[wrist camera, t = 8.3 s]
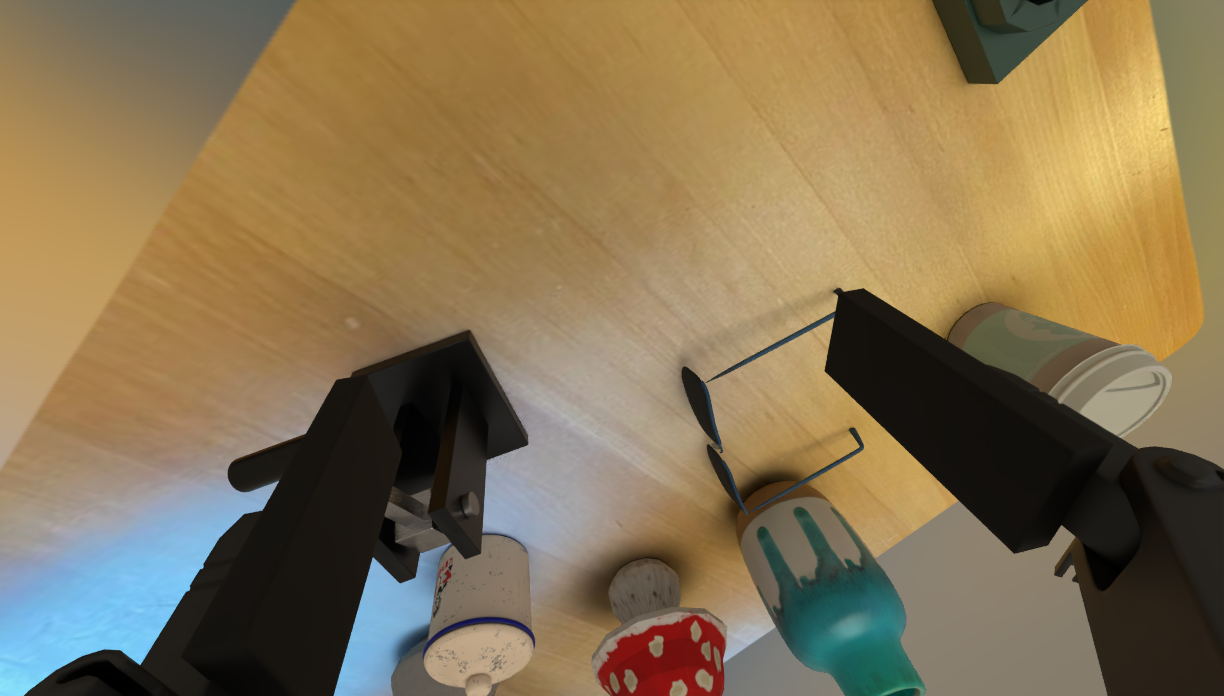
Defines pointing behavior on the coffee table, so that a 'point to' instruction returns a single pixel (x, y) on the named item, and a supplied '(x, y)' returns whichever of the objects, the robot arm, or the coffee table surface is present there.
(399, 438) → the black lever stand
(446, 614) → the teacup with lid
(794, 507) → the vase
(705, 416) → the sunglasses
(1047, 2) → the button housing
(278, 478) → the lever
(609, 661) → the decorative mushroom
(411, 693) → the coffee pot
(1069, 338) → the coffee cup
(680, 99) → the coffee table surface
